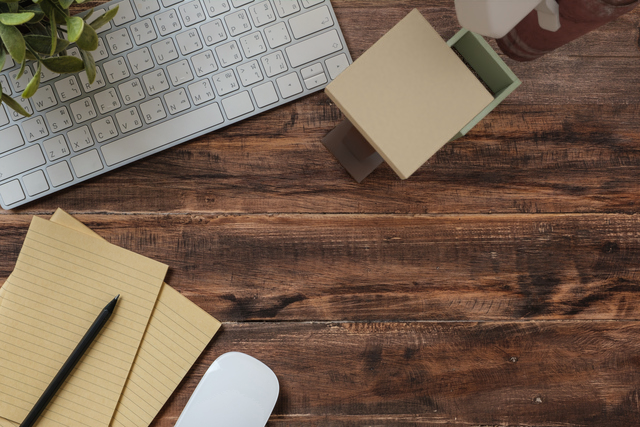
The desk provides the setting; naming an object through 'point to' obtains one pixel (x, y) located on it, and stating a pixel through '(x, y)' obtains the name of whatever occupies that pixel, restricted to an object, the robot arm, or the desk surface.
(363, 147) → the post
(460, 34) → the holder
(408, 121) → the beige square panel
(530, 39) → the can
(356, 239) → the desk surface
